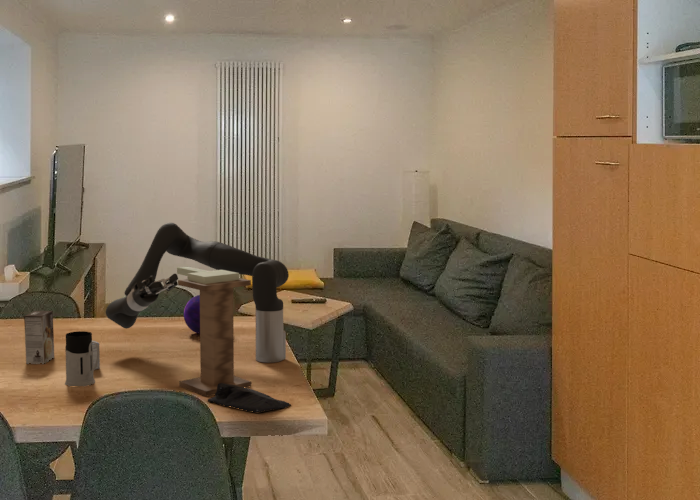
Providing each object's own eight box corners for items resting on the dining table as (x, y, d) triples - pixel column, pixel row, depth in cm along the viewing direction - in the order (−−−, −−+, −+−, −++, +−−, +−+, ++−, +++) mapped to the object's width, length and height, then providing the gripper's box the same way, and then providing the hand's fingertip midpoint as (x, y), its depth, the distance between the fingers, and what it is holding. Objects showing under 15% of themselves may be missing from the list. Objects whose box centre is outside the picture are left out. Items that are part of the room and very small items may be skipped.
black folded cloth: (252, 419, 233) (252, 402, 232) (203, 401, 248) (202, 385, 247) (295, 407, 243) (295, 391, 243) (245, 391, 259) (245, 375, 258)
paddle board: (198, 271, 275) (198, 265, 275) (239, 279, 259) (239, 273, 259) (164, 275, 267) (164, 268, 266) (204, 283, 251) (204, 276, 251)
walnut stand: (223, 376, 272) (223, 274, 269) (251, 386, 262) (250, 280, 258) (179, 386, 262) (177, 279, 258) (205, 396, 251) (204, 285, 248)
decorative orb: (210, 327, 344) (210, 290, 342) (231, 334, 332) (231, 295, 331) (176, 332, 334) (176, 293, 332) (196, 339, 323) (196, 299, 321)
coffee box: (36, 357, 295) (34, 310, 293) (54, 357, 294) (53, 310, 292) (25, 364, 285) (23, 315, 284) (44, 364, 285) (43, 315, 283)
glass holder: (84, 377, 270) (82, 329, 268) (112, 385, 261) (110, 336, 260) (58, 383, 264) (57, 334, 262) (86, 392, 255) (85, 341, 253)
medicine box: (94, 366, 284) (93, 340, 283) (100, 369, 280) (99, 342, 279) (70, 370, 279) (69, 343, 278) (76, 373, 275) (75, 346, 274)
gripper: (119, 288, 286) (141, 268, 275) (158, 283, 295) (180, 264, 284) (125, 309, 284) (147, 290, 273) (164, 304, 294) (187, 286, 282)
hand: (164, 277), depth 278 cm, fingers open, 8 cm apart
